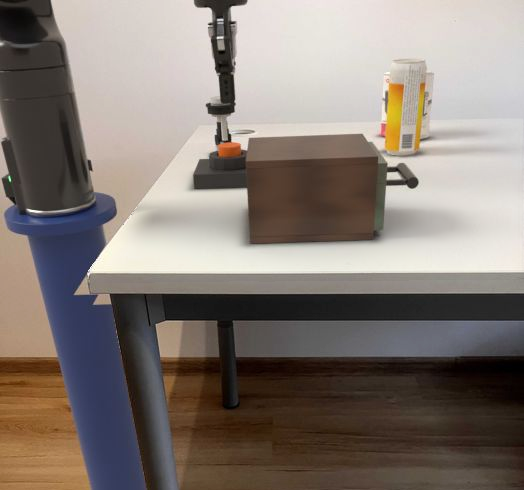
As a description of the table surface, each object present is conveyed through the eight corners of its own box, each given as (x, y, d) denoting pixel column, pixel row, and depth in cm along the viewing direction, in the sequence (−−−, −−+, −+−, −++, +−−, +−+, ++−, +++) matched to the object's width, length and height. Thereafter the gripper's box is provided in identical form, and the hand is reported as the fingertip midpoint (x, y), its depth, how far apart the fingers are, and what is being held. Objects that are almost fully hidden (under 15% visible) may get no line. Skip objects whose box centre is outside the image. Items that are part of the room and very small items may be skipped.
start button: (217, 159, 92) (217, 147, 91) (219, 154, 95) (218, 142, 94) (240, 158, 92) (240, 146, 91) (241, 153, 95) (241, 141, 94)
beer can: (410, 147, 110) (418, 57, 102) (424, 154, 105) (434, 60, 97) (379, 150, 109) (384, 59, 101) (392, 157, 104) (399, 62, 96)
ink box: (378, 136, 119) (382, 71, 113) (393, 132, 122) (398, 68, 116) (414, 142, 114) (420, 74, 107) (429, 137, 116) (436, 71, 110)
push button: (243, 158, 107) (240, 99, 102) (215, 161, 106) (210, 101, 101) (234, 151, 113) (231, 94, 107) (207, 154, 111) (202, 96, 106)
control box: (194, 189, 91) (191, 162, 89) (200, 172, 100) (198, 147, 98) (265, 186, 91) (264, 159, 89) (265, 170, 100) (264, 145, 98)
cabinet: (359, 207, 81) (362, 133, 76) (373, 239, 70) (378, 156, 65) (252, 210, 81) (248, 137, 76) (249, 243, 70) (245, 161, 65)
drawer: (400, 200, 80) (405, 140, 76) (418, 229, 70) (425, 161, 66) (268, 204, 80) (266, 145, 76) (269, 234, 70) (266, 167, 66)
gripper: (196, -31, 86) (207, 97, 95) (184, -34, 75) (199, 111, 84) (247, -34, 86) (253, 94, 95) (244, -38, 75) (251, 108, 84)
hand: (228, 102), depth 90 cm, fingers closed
